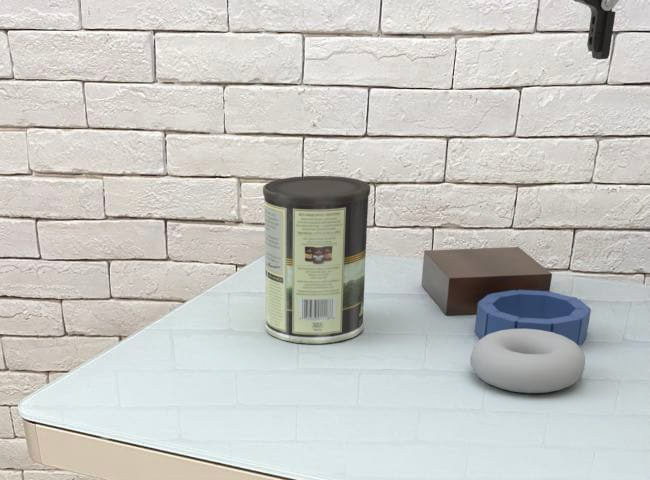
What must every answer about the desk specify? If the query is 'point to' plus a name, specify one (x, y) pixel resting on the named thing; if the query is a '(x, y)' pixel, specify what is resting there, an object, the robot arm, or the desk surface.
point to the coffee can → (315, 257)
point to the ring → (533, 313)
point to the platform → (479, 276)
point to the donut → (527, 360)
